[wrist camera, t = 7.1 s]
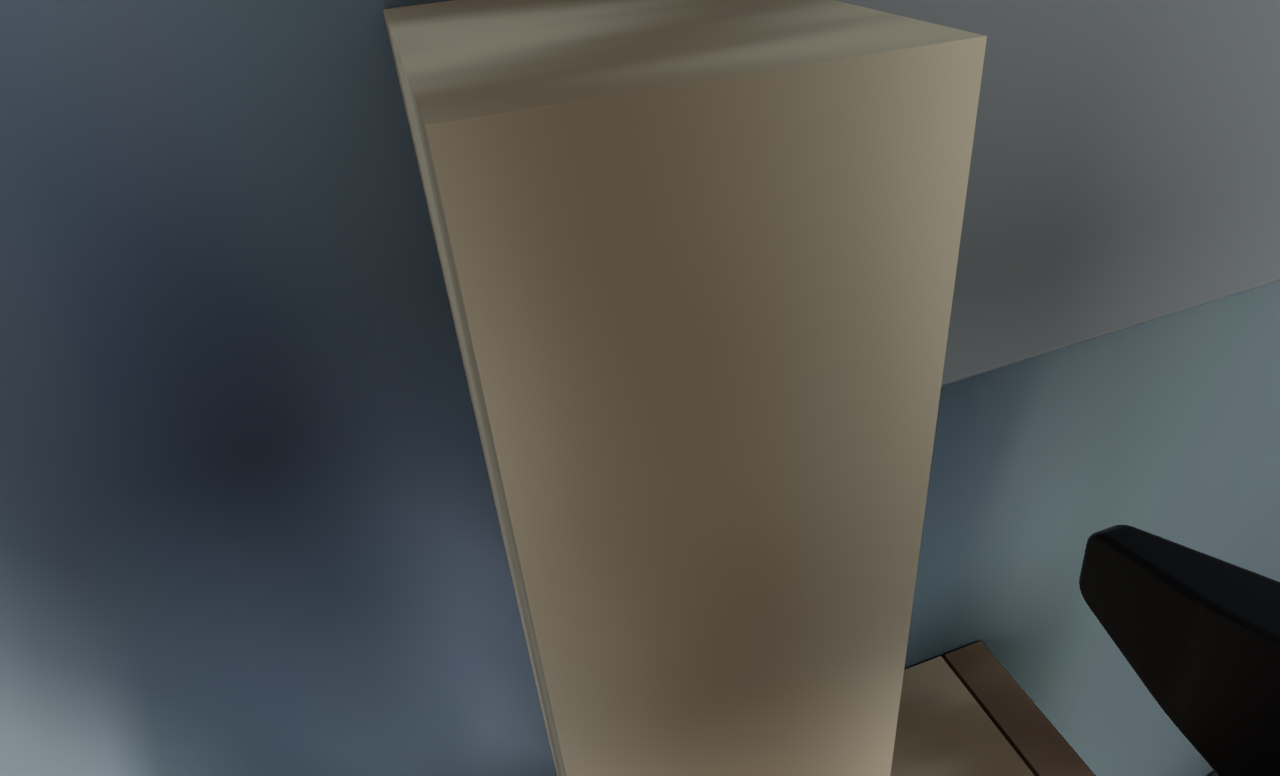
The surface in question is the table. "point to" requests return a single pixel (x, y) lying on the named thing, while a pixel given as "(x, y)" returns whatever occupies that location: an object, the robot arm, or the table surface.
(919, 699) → the brown storage crate
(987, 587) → the table surface
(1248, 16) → the pad
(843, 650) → the block
